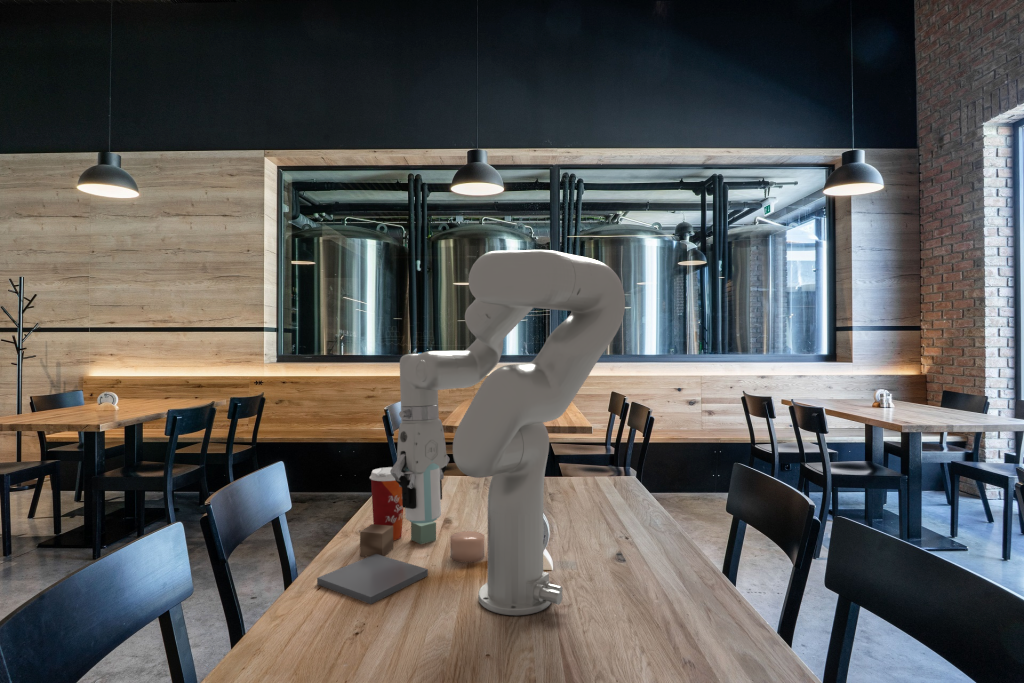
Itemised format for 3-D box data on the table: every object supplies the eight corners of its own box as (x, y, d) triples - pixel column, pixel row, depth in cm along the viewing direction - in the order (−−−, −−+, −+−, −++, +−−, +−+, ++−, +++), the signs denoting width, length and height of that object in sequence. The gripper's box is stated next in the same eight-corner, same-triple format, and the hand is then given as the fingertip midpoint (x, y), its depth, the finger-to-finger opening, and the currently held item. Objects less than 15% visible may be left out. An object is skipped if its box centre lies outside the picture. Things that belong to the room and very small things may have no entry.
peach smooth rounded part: (491, 554, 115) (491, 535, 115) (470, 565, 109) (470, 545, 109) (464, 547, 119) (464, 529, 119) (443, 558, 113) (443, 538, 113)
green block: (436, 540, 123) (436, 522, 123) (420, 544, 120) (420, 526, 120) (426, 536, 126) (426, 518, 126) (411, 539, 123) (411, 521, 123)
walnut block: (393, 549, 118) (393, 525, 118) (382, 558, 113) (382, 533, 113) (371, 547, 119) (371, 524, 119) (360, 556, 114) (360, 531, 114)
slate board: (427, 575, 104) (427, 569, 104) (370, 604, 92) (370, 597, 92) (375, 559, 112) (375, 553, 112) (317, 584, 100) (317, 577, 100)
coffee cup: (397, 544, 120) (398, 475, 120) (362, 541, 122) (363, 473, 122) (412, 532, 128) (412, 467, 129) (379, 529, 130) (379, 465, 130)
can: (402, 517, 113) (400, 458, 113) (435, 513, 116) (434, 455, 116) (409, 526, 106) (408, 463, 107) (445, 521, 109) (443, 459, 110)
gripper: (402, 419, 103) (405, 516, 102) (461, 411, 117) (464, 496, 116) (374, 418, 107) (377, 511, 106) (434, 410, 121) (437, 492, 120)
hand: (422, 502), depth 111 cm, fingers closed on can, 6 cm apart
